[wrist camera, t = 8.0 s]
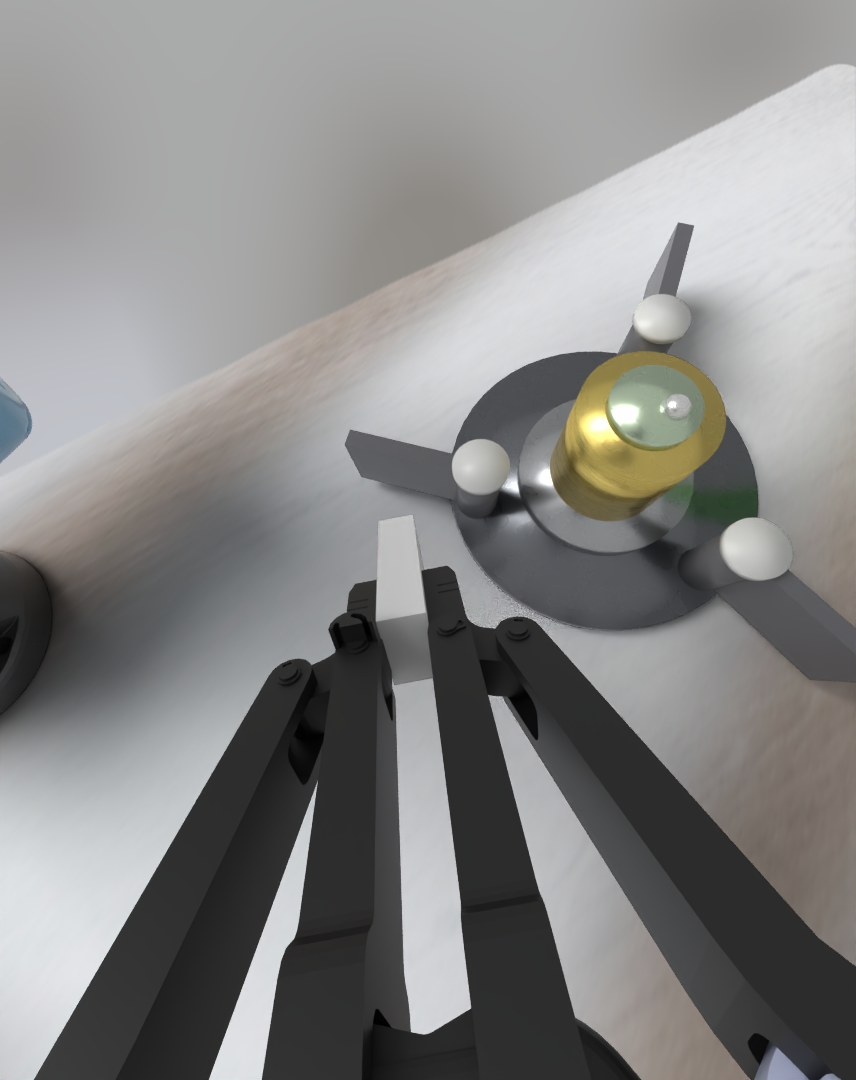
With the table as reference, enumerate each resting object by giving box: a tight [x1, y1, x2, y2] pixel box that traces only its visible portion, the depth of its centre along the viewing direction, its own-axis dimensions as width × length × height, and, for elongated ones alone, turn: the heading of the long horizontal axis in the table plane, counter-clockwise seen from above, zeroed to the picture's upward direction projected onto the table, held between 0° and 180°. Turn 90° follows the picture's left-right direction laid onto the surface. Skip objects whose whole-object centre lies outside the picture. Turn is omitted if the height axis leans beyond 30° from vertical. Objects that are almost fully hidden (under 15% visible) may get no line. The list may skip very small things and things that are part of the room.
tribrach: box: [451, 351, 758, 630], centre depth 29 cm, size 24×24×12 cm
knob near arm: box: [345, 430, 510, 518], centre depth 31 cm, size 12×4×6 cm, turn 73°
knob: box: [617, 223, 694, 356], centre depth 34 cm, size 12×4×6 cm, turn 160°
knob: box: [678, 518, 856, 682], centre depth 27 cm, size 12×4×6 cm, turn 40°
